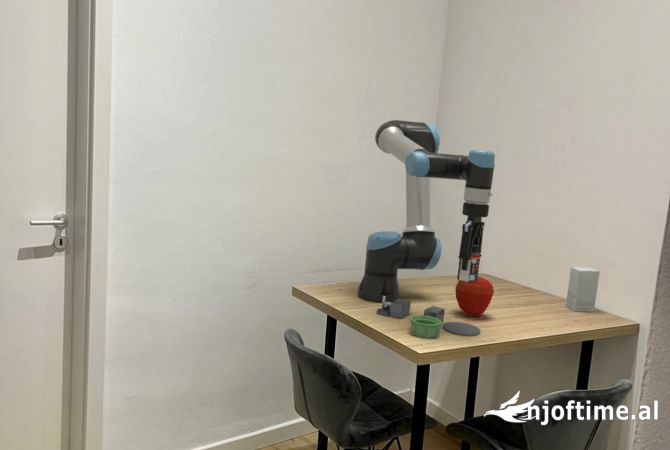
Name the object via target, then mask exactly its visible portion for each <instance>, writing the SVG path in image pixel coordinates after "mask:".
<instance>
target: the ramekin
mask: <svg viewBox="0 0 670 450" xmlns="http://www.w3.org/2000/svg"><path fill="white" fill-rule="evenodd" d="M441 325H442V323H441V320H439V319H437V318H434V317H430V316H424V314H423V315H421V314H420V315H418V314H417V315H413V316H411V317H410V333H411V334H412V335H413V336H415V337H419V338H422V339H423V338H424V339H434V338H438V337H439V333H440V329H441Z"/></svg>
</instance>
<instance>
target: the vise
mask: <svg viewBox="0 0 670 450" xmlns="http://www.w3.org/2000/svg"><path fill="white" fill-rule="evenodd" d="M385 298H386V296H383V300H382V302H381V303H382V304H381V308H379V309H377V310H376V315H380V316H384V317H393V318H396V319H399V320H400V319H403V318H406V317H407V316H410V313H411V306H412V305H411V303H412V301H411V300H408V299H404V298H401V297H400V298H399V299H397V300H395V301H392V302H387V301H385ZM445 311H446V309H445V308H444V307H440V306H434V305H432V306H430V307H428V308H426V309H424V310H423V316H430V317H434V318H437V319H439V320H441V324H444V317H445Z"/></svg>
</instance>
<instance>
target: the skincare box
mask: <svg viewBox="0 0 670 450" xmlns="http://www.w3.org/2000/svg"><path fill="white" fill-rule="evenodd" d="M600 273H601V271H600V270H599V269H596V268H593V267H591V266H589V267H587V266H585V267H584V266H582V267H581V266H571V267H570V271H569V280H568V285H567V286H568V288H567V295H566V301H565V308H567V309H569V310H570V311H573V312H575V313H576V312H580V313H581V312H582V313H583V312H584V313H585V312H586V313H587V312H588V313H594V312H595V308H596V300H597V293H598V287H599V279H600Z"/></svg>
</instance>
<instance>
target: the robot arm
mask: <svg viewBox="0 0 670 450" xmlns="http://www.w3.org/2000/svg"><path fill="white" fill-rule="evenodd" d="M374 138H375V139H374V140H375V144H376V146H377V147H378V148H379V149H380V150H381V151H382V152H384V153H385V154H391V155H393V157H395V158H396V159H398V160H399V161H400V162H401V163H403V164H404V165H405V166H404V167H405V168H404V169H405V195H406V196H405V202H406V205H405V214H406V217H405V218H406V222H405V223H406V228H405V229H404V230H403V231H402V234H401V232H399V231H387V230H386V231H384V230H383V231H376V232H373V233H371V234H370V235H369V236H368V238H367V243H366V251H365V254H366V255H365V262H364V263H365V264H364V273H363V276H362V279H361V281H360V283H359V286H358V288H357V297H359V298H360V299H363V300H365V301H369V302H373V303H374V302H375V303H382V300H383V296H386V298H385V301H387V302H392V301H395V300H397V299H399V298H400V299H401V291H400V286H399V281H398V271H399V270H420V271H423V270H432V269H434V268H435V267H436V266H437V265H438V263H439V261H440V260H441V256H442V255H441V254H442V243H441V240H440V239H439V238H438V237H435V236H436V235H435V234H436V233H435V231H434V229H432V227H431V188H430V187H431V185H430V181H431V179H432V178H434V179H444V180H456V181H457V180H459V181H465V185H464V186H465V187H464V192H463V193H464V194H463V200H464V202H463V203H462V212H461V213H462V215H463V216H467V220H466V222H465V223H463V224H462V228H461V230H462V233H461V239H460V240H461V241H460V245H459V246H460V247H459V254H458V259H460V258H461V267H460V276H459V280H461V281H467V282H468V281H469V274H470V265H471V260H470V256H471V252H472V247H473V244H475V245H478V253H480V258H481V257H482V245H483V236H484V227H485V221H482V218H487V217H488V216H489V213H490V212H489V209H490V206H489V203H490V201H491V197H492V196H493V193H492V186H493V178H494V177H493V176H494V170H495V166H496V164H495V158H496V154H495V152H493V151H491V150H480V149H471V150H470V151H469V152H468V155H464V154H452V153H451V154H449V153H439V152H438V151H439V147H440V143H441V142H440V133H439V131H438V129H437V127H435V125H433V123H432V124H431V123H426V122H423V121H421V122H417V121H410V120H409V121H408V120H400V119H398V120H397V119H393V120H388V121H386V122H384V123H382V124H381V125H380V126H379V127H378V129H377V130H376V132H375V137H374ZM430 178H431V179H430Z"/></svg>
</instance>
